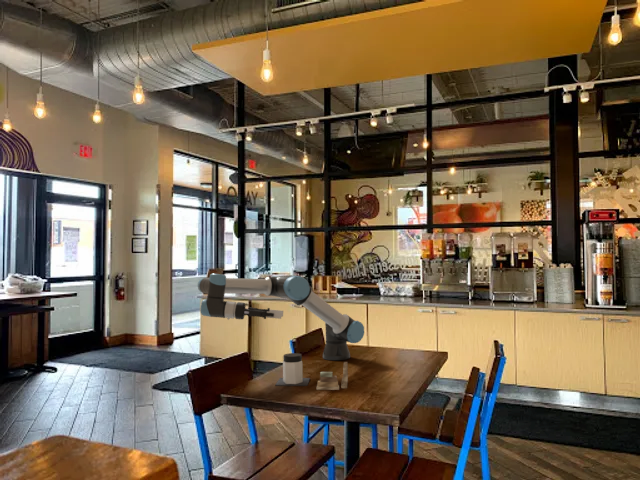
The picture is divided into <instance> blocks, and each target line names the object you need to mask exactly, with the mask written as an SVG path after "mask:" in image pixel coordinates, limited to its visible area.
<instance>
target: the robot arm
mask: <svg viewBox="0 0 640 480" xmlns="http://www.w3.org/2000/svg"><path fill="white" fill-rule="evenodd" d="M197 288H198V291H199V292H200V293H202V294H207V295H206V296H207V297H206V299H205V298H204V299H203V300H202V301H201V303H200V315H202V317H203V316H204V317H210V318H223V319H227V320H228V321H229V320H230V319H234V318H235V319H236V320H244V319H245V316H247V317H255V318H256V317H258V318H263V320H266V319H268V318H269V319H279V320H281V319H282V318H283V317H284V310H279V309H270V307H267V309H266V308H258V307H252V306H251V307H250V306H249V307H248V308H246V303H245V302H239V301H238V302H236V301H229V300H227V301H226V300H225V294H233V295H234V294H241V295H242V294H248V295H249V294H252V295H253V294H254V295H255V294H256V295H261V294H262V295H264V296H266V297H267V296H268V297H269V296H271V297H277V298H281V299H282V298H283V299H288V300H289V301H291V302H293V304H295V306H296V305H297V306H298V307H299V306H303V307H304V308H305V309H307V310H308V311H310V312H311V313H312V314H314V315H315V316H316V317H317V318H319V319H320V320H322V321H323V322H324V323H325V324H324V326H325V346H324V349H323V353H322V359H323V360H328V361H344V360H345V361H346V360H349V359H350V358H351V353H350V350H349V347H348V344H347V343H350V344H358V343H359V342H361V341H362V340H363V338H364V335H365V326H364V324H363V323H362V322H360V321H359V320H355V319H353V318H352V317H350V316H349V314H347V313H346V314H345V313H344V314H342V313H341V312H339V311H338V310H337V309H336V308H335V307H333V306H332V305H331V304H329V303H328V302H326V301H325V300H324V299H323V298H321V297H320V296H319V295H318V294H316V293H315V292H314V291H313V288H312V286H311V285H310V283H309V281H308V280H307V279H306V278H304V277H303V276H300V275H278V276H267V277H265V278H245V277H244V278H243V277H242V278H240V277H239V278H238V277H237V278H236V277H235V278H234V277H229V278H228V277H227V276H226V275H225V274H222V273H221V274H219V273H211V274H209V277H202V278H201V279H199V281H198V282H197Z"/></svg>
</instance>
